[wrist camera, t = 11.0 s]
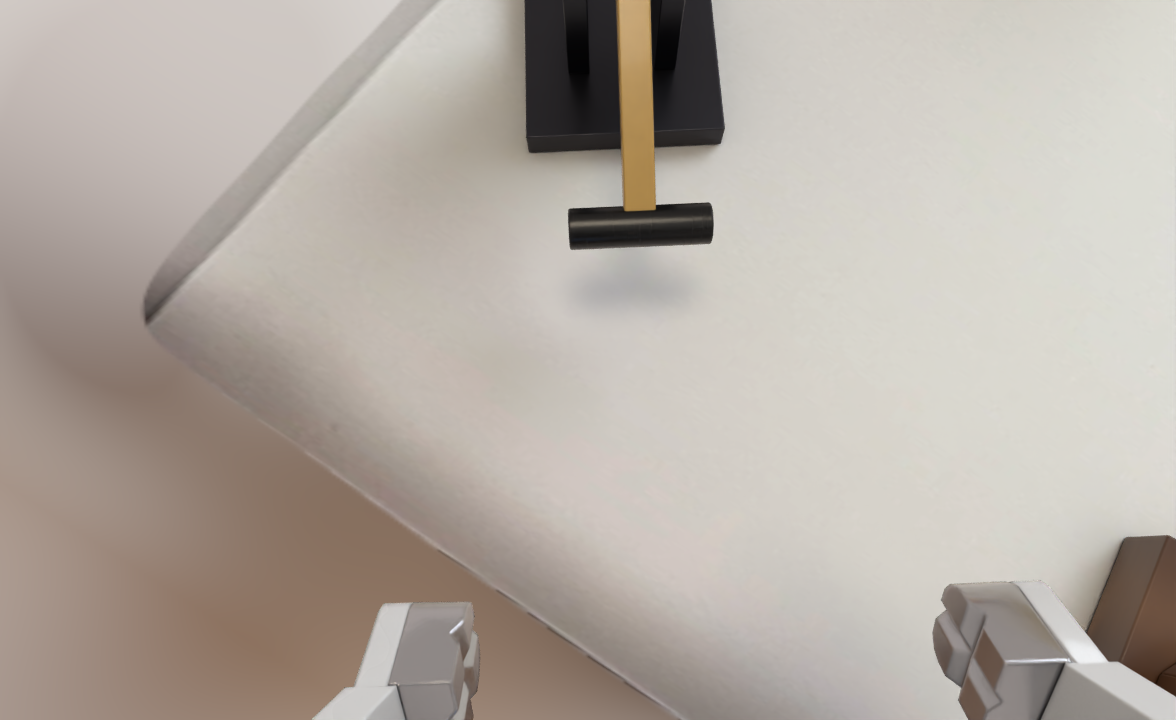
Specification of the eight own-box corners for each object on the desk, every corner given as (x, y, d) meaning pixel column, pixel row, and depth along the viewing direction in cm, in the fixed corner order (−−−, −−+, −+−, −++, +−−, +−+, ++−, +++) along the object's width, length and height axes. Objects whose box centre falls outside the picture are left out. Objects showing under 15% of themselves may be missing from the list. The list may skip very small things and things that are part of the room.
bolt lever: (705, 244, 26) (716, 243, 23) (571, 250, 26) (569, 249, 23) (697, -240, 23) (709, -296, 21) (549, -232, 23) (544, -287, 21)
